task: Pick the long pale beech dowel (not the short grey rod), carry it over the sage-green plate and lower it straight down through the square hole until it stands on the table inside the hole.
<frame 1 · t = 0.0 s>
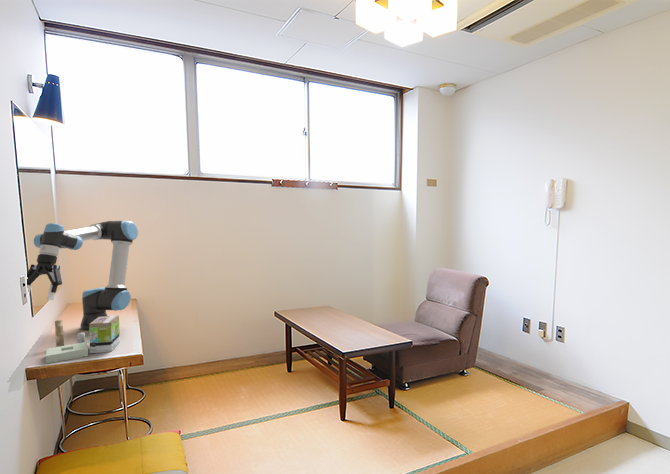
hand: (37, 299, 178), 28 cm above the table, tool tilted 20°, fingers open, 13 cm apart
tea box: (105, 348, 193), on the table
long dowel: (60, 347, 193), on the table
short rod: (81, 346, 194), on the table
hole plate: (67, 355, 182), on the table
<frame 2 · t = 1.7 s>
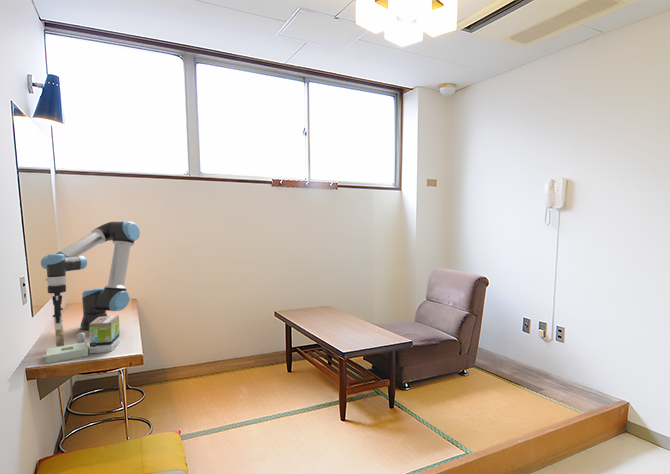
hand: (58, 326, 192), 11 cm above the table, tool pointing down, fingers open, 13 cm apart
nothing on the table moved.
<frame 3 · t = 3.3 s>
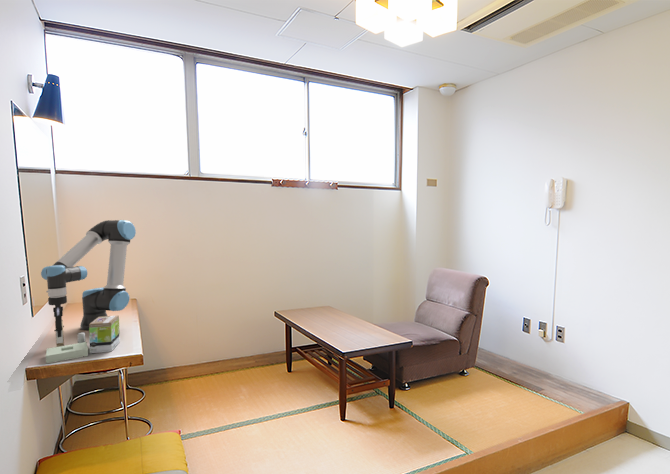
hand: (59, 341, 193), 3 cm above the table, tool pointing down, fingers closed on long dowel, 3 cm apart
long dowel: (60, 347, 193), on the table, touching gripper
everything else where it was.
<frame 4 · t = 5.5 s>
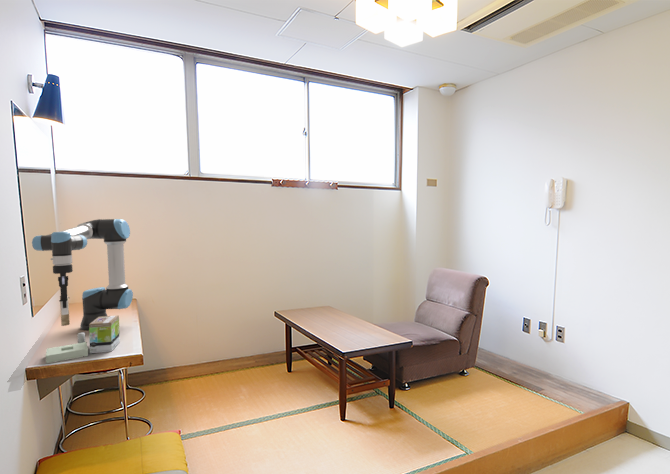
hand: (65, 313, 181), 20 cm above the table, tool pointing down, fingers closed on long dowel, 3 cm apart
long dowel: (65, 324, 181), point 15 cm above the table, touching gripper
everything else where it was.
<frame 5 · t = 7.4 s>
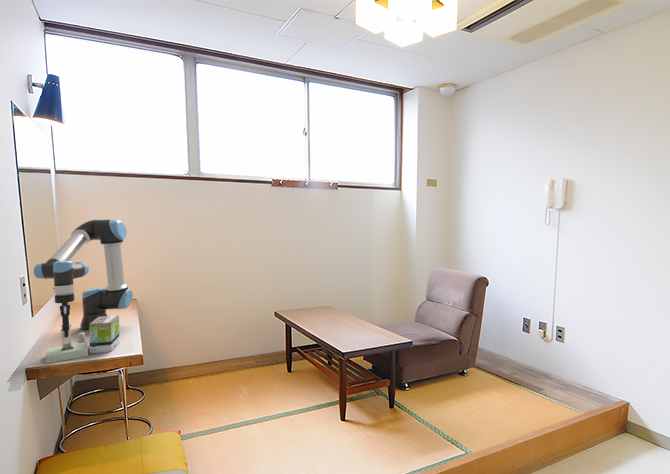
hand: (66, 342, 182), 7 cm above the table, tool pointing down, fingers closed on long dowel, 3 cm apart
long dowel: (67, 353, 182), point 1 cm above the table, touching gripper
everything else where it was.
when the fingers open (5 cm above the table, at t = 7.9 s): long dowel stays where it is, resting in hole plate.
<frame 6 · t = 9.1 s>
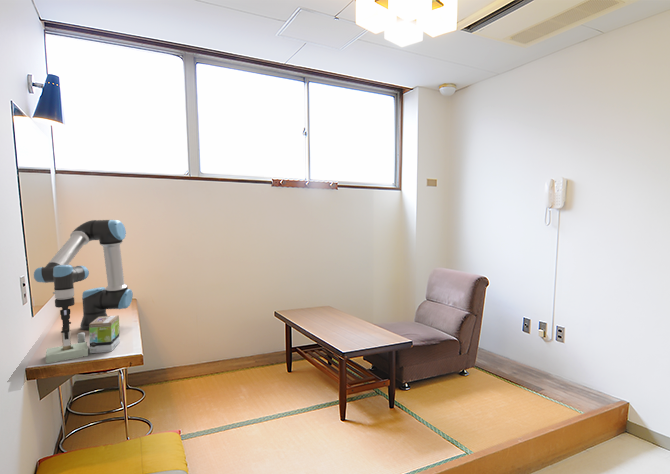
hand: (66, 341, 182), 7 cm above the table, tool pointing down, fingers open, 13 cm apart
long dowel: (67, 355, 182), resting in hole plate
everything else where it was.
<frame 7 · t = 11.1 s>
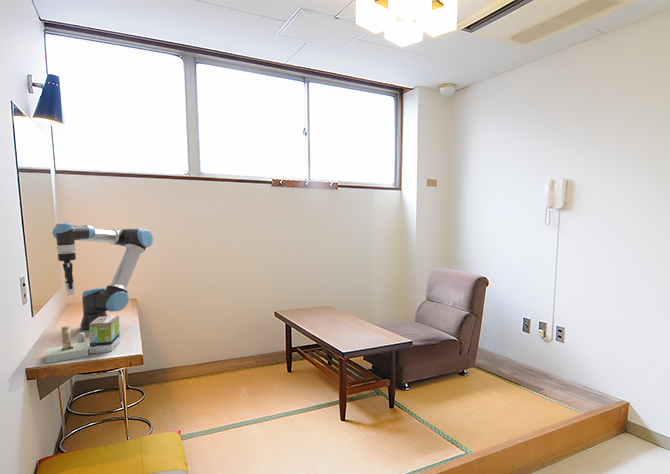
hand: (70, 292, 201), 26 cm above the table, tool pointing down, fingers open, 13 cm apart
nothing on the table moved.
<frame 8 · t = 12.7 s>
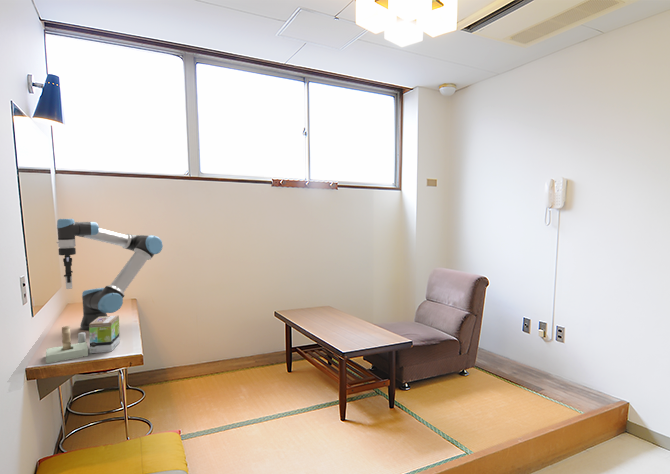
hand: (69, 286, 205), 29 cm above the table, tool pointing down, fingers open, 13 cm apart
nothing on the table moved.
at the end: long dowel 0.1 cm off-centre on the hole plate, point 0.0 cm above the hole plate's base; long dowel tilted 0°; the gripper is holding nothing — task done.
